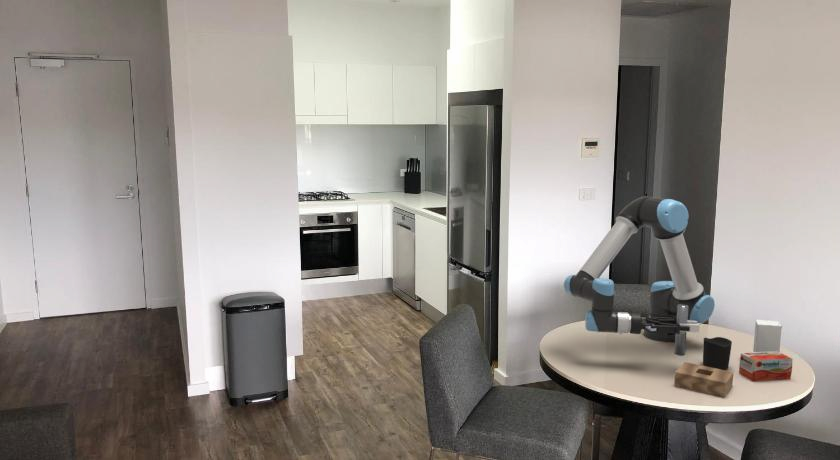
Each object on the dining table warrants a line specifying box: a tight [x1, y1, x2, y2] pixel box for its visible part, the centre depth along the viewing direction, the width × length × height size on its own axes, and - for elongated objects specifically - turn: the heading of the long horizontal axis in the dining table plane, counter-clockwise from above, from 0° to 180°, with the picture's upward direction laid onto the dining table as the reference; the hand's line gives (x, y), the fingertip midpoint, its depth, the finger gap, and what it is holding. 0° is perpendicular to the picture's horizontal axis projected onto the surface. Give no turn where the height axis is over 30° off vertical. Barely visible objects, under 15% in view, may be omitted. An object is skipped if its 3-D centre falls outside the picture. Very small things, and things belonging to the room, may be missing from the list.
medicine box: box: [738, 351, 793, 382], centre depth 242 cm, size 15×8×8 cm, turn 100°
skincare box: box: [752, 319, 783, 353], centre depth 255 cm, size 8×7×16 cm
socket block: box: [673, 361, 734, 398], centre depth 232 cm, size 16×12×5 cm
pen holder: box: [702, 336, 733, 371], centre depth 250 cm, size 9×9×10 cm
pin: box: [673, 304, 688, 357], centre depth 244 cm, size 4×4×18 cm
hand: (697, 326), depth 243 cm, fingers closed on pin, 3 cm apart
